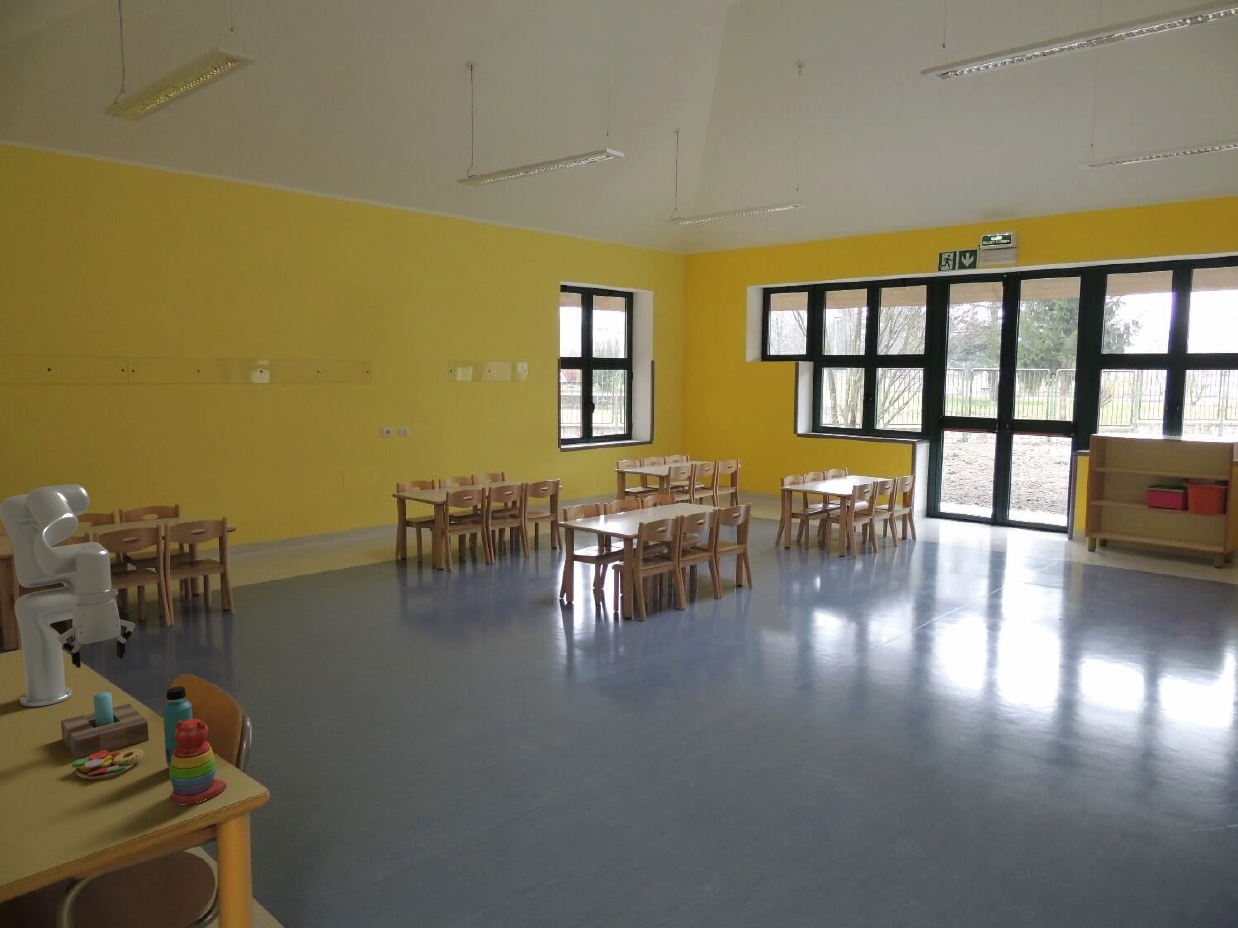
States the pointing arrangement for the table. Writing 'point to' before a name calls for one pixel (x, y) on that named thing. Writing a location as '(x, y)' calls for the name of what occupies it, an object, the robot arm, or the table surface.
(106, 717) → the peg
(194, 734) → the stacking bear
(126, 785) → the table surface
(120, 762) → the toy food set
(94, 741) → the socket block
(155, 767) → the table surface
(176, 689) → the beverage bottle
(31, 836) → the table surface
